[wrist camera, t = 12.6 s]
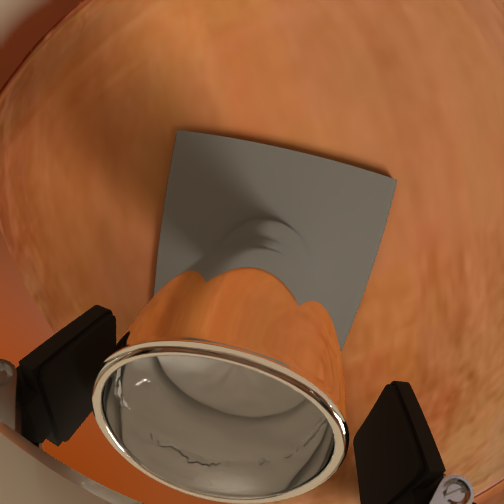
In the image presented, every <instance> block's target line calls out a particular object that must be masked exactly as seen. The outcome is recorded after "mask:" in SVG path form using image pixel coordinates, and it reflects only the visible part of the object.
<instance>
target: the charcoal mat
mask: <svg viewBox="0 0 504 504" xmlns="http://www.w3.org/2000/svg"><path fill="white" fill-rule="evenodd" d="M396 183H397V180H396V179H393V178H390V177H387V176H384V175H381V174H378V173H375V172H371V171H368V170H365V169H362V168H358V167H355V166H351V165H348V164H344V163H341V162H337V161H334V160H330V159H326V158H322V157H318V156H315V155H311V154H307V153H302V152H298V151H294V150H290V149H285V148H281V147H276V146H271V145H267V144H262V143H257V142H252V141H246V140H241V139H235V138H230V137H224V136H218V135H212V134H205V133H198V132H191V131H183V130H177V134H176V139H175V144H174V149H173V154H172V160H171V165H170V171H169V177H168V183H167V189H166V195H165V202H164V209H163V216H162V223H161V231H160V239H159V248H158V257H157V266H156V277H155V289H154V296H155V295H156V294H157V292H158V291H159V290H160V289H161V288H162V287H163V286H164V285H165V284H166V283H167V282H169V281H170V280H171V279H172V278H173V277H174V276H175V275H177V274H178V273H179V272H180V271H181V270H183V269H184V268H185V267H187V266H188V265H189V264H191V263H193V262H195V261H196V260H198V259H200V258H202V257H204V256H205V255H207V254H209V253H211V252H214V251H216V250H219V249H220V247H221V244H222V242H223V241H224V239H225V237H226V236H227V235H228V234H229V232H230V231H231V230H232V229H234V228H235V227H236V226H238V225H239V224H241V223H243V222H246V221H249V220H252V219H259V218H266V219H273V220H276V221H279V222H282V223H284V224H286V225H287V226H289V227H290V228H292V229H293V230H294V231H295V232H296V233H297V234H298V235H299V236H300V238H301V239H302V241H303V243H304V245H305V247H306V250H307V253H308V260H309V268H308V274H309V275H310V277H311V278H312V279H313V281H314V282H315V284H316V285H317V287H318V289H319V291H320V292H321V294H322V296H323V298H324V299H325V301H326V303H327V306H328V308H329V311H330V314H331V317H332V320H333V323H334V326H335V329H336V333H337V337H338V342H339V347H340V352H341V350H342V348H343V345H344V343H345V340H346V338H347V336H348V333H349V331H350V328H351V326H352V323H353V321H354V318H355V315H356V313H357V310H358V308H359V305H360V302H361V299H362V297H363V294H364V291H365V288H366V285H367V283H368V280H369V277H370V274H371V271H372V268H373V265H374V262H375V259H376V255H377V252H378V249H379V246H380V242H381V239H382V236H383V232H384V229H385V225H386V222H387V218H388V215H389V211H390V207H391V203H392V199H393V195H394V191H395V187H396Z"/></svg>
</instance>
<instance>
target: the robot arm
mask: <svg viewBox="0 0 504 504" xmlns="http://www.w3.org/2000/svg"><path fill="white" fill-rule="evenodd" d="M115 346H116V318H115V316H113V313H112V311H111V310H109V309H106V308H104V307H101V306H99V305H95V306H93V307H92V308H91V309H89V310H88V311H86V312H85V313H84V314H82V315H81V316H79V317H78V318H77V319H75V320H74V321H72V322H71V323H70V324H68V325H67V326H66V327H64V328H63V329H61V330H60V331H59V332H57V333H56V334H55V335H53V336H52V337H51V338H49V339H48V340H47V341H45V342H44V343H43V344H41V345H40V346H39V347H37V348H36V349H35V350H33V351H32V352H31V353H30V354H28V355H27V356H26V357H24V358H23V359H22V360H20V361H19V364H20V365H19V366H18V367H17V368H15V366H14V365H13V364H12V363H11V362H10V361H7V360H5V359H0V504H143V503H141V502H138V501H136V500H134V499H131V498H129V497H126V496H124V495H122V494H119V493H118V492H115V491H113V490H111V489H109V488H107V487H105V486H103V485H101V484H99V483H97V482H95V481H93V480H91V479H89V478H88V477H86V476H84V475H82V474H80V473H78V472H77V471H75V470H73V469H71V468H70V467H68V466H67V465H65V464H63V463H62V462H60V461H58V460H57V459H55V458H54V457H52V456H50V455H49V454H47V453H46V452H44V451H43V444H42V443H43V441H44V440H45V439H47V440H49V441H50V442H52V443H53V444H55V445H57V446H59V445H60V444H61V442H62V441H64V442H66V441H68V440H69V439H70V437H71V436H72V435H73V434H74V433H75V431H76V430H77V429H78V428H79V426H80V425H81V424H82V422H83V421H84V420H85V419H86V418H87V417H88V415H89V414H90V413H91V412H92V407H91V401H90V387H91V382H92V379H93V376H94V374H95V372H96V370H97V368H98V367H99V365H100V364H101V363H102V362H103V361H104V360H105V359H106V358H107V357H108V356H109V355H110V353H111V352H112V350H113V349H114V348H115ZM353 445H354V452H355V459H356V467H357V474H358V483H359V491H360V501H361V504H476V503H474V502H473V500H474V489H473V487H472V485H471V483H470V482H469V481H468V480H467V479H466V478H464V477H462V476H460V475H449V476H445V475H443V473H444V472H445V471H446V470H445V467H444V464H443V462H442V459H441V456H440V454H439V451H438V449H437V446H436V443H435V441H434V438H433V436H432V434H431V431H430V429H429V426H428V424H427V421H426V419H425V417H424V414H423V412H422V410H421V407H420V405H419V403H418V401H417V398H416V396H415V394H414V392H413V390H412V387H411V385H410V384H409V383H408V382H400V381H393V382H391V383H390V384H388V385H386V386H385V388H384V390H383V391H382V393H381V395H380V396H379V398H378V400H377V402H376V403H375V405H374V407H373V408H372V410H371V412H370V413H369V415H368V416H367V418H366V420H365V421H364V423H363V424H362V426H361V427H360V429H359V430H358V432H357V433H356V435H355V437H354V442H353Z"/></svg>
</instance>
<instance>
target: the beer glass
mask: <svg viewBox="0 0 504 504" xmlns="http://www.w3.org/2000/svg"><path fill="white" fill-rule="evenodd" d="M308 268H309V260H308V253H307V250H306V247H305V245H304V243H303V241H302V239H301V238H300V236H299V235H298V234H297V233H296V232H295V231H294V230H293V229H292V228H290V227H289V226H287V225H286V224H284V223H282V222H279V221H276V220H273V219H266V218H259V219H252V220H249V221H246V222H243V223H241V224H239V225H238V226H236V227H235V228H234V229H232V230H231V231H230V232H229V234H228V235H227V236H226V237H225V239H224V241H223V242H222V244H221V247H220V249H219V250H216V251H214V252H211V253H209V254H207V255H205V256H204V257H202V258H200V259H198V260H196V261H195V262H193V263H191V264H189V265H188V266H187V267H185V268H184V269H183V270H181V271H180V272H179V273H178V274H177V275H175V276H174V277H173V278H172V279H171V280H170V281H169V282H167V283H166V284H165V285H164V286H163V287H162V288H161V289H160V290H159V291H158V292H157V294H156V295H155V296H154V297H153V298H152V299H151V300H150V301H149V302H148V304H147V305H146V306H145V307H144V308H143V310H142V311H141V312H140V313H139V315H138V316H137V317H136V319H135V320H134V321H133V323H132V324H131V325H130V327H129V328H128V329H127V331H126V332H125V333H124V335H123V336H122V338H121V339H120V341H119V342H118V344H117V345H116V346H115V348H114V349H113V350H112V352H111V353H110V355H109V356H108V357H107V358H106V359H105V360H104V361H103V362H102V363H101V364H100V365H99V367H98V368H97V370H96V372H95V374H94V376H93V379H92V382H91V387H90V401H91V407H92V411H93V414H94V416H95V419H96V421H97V423H98V425H99V427H100V429H101V431H102V432H103V433H104V435H105V437H106V438H107V439H108V441H109V442H110V443H111V444H112V446H113V447H114V448H115V449H116V450H117V451H118V452H119V453H120V454H121V455H122V456H123V457H124V458H125V459H126V460H127V461H129V462H130V463H131V464H132V465H134V466H135V467H136V468H138V469H139V470H141V471H142V472H143V473H145V474H147V475H148V476H150V477H152V478H153V479H155V480H157V481H159V482H160V483H162V484H164V485H167V486H169V487H171V488H173V489H176V490H178V491H181V492H184V493H187V494H190V495H193V496H196V497H200V498H204V499H209V500H214V501H220V502H227V503H240V504H254V503H267V502H274V501H279V500H284V499H288V498H292V497H295V496H298V495H301V494H303V493H306V492H308V491H310V490H312V489H314V488H316V487H317V486H319V485H321V484H322V483H324V482H325V481H326V480H327V479H329V478H330V477H331V476H332V475H333V474H334V473H335V472H336V471H337V469H338V468H339V467H340V465H341V464H342V462H343V461H344V459H345V456H346V454H347V451H348V446H349V431H348V426H347V422H346V406H345V386H344V375H343V365H342V358H341V353H340V347H339V342H338V337H337V333H336V329H335V326H334V323H333V320H332V317H331V314H330V311H329V308H328V306H327V303H326V301H325V299H324V298H323V296H322V294H321V292H320V291H319V289H318V287H317V285H316V284H315V282H314V281H313V279H312V278H311V277H310V275H309V274H308Z"/></svg>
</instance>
